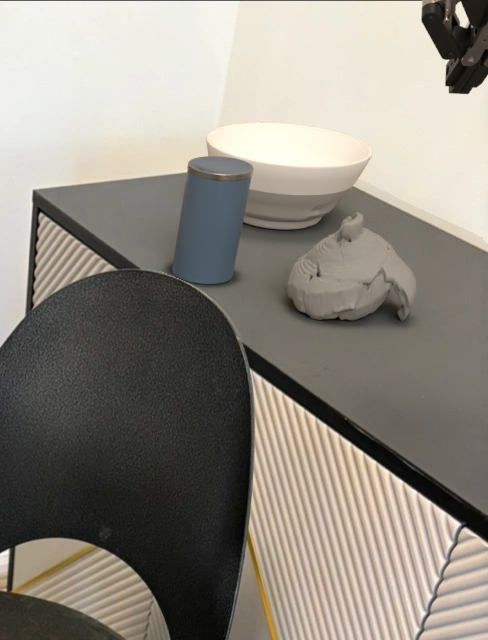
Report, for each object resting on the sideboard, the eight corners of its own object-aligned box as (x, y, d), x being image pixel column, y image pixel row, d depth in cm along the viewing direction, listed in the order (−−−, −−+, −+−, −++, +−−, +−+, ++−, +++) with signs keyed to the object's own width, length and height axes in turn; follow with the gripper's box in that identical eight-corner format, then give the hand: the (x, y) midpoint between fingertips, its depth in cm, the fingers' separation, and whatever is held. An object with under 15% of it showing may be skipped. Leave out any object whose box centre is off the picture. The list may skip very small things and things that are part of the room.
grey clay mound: (331, 360, 111) (332, 259, 104) (267, 316, 120) (263, 220, 112) (436, 313, 112) (443, 210, 105) (365, 273, 121) (367, 174, 113)
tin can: (209, 259, 125) (227, 153, 118) (245, 279, 121) (267, 170, 114) (159, 267, 123) (175, 159, 116) (194, 287, 119) (213, 177, 111)
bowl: (337, 253, 128) (356, 176, 122) (174, 225, 134) (186, 151, 128) (366, 207, 141) (385, 136, 135) (217, 183, 147) (229, 114, 142)
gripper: (679, -140, 71) (543, 41, 88) (469, -148, 72) (376, 34, 89) (675, -29, 71) (540, 132, 88) (465, -37, 71) (371, 124, 89)
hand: (457, 83), depth 88 cm, fingers closed
